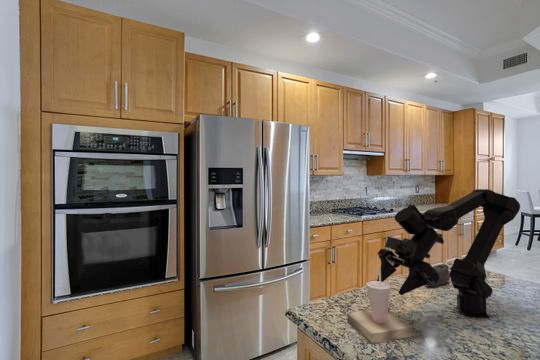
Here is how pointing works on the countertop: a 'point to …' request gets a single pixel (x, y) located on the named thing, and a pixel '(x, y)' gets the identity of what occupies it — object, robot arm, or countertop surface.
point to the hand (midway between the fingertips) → (388, 287)
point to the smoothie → (378, 299)
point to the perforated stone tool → (441, 274)
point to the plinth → (379, 327)
